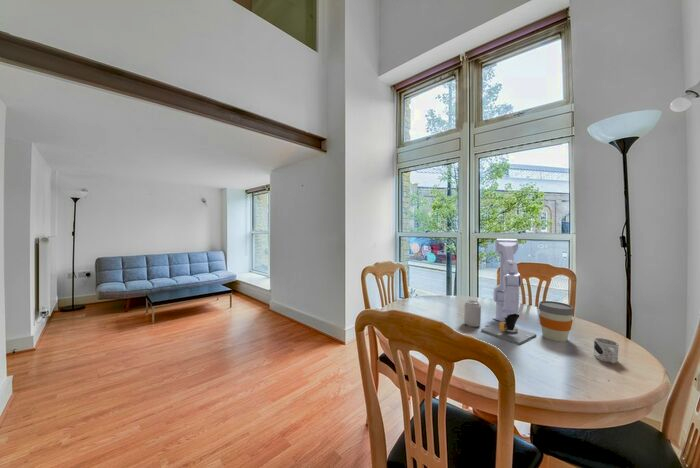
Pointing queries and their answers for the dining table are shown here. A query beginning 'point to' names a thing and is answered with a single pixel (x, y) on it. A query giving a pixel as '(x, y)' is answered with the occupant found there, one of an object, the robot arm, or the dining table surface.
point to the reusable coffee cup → (555, 320)
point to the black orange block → (504, 327)
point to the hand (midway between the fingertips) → (510, 329)
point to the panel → (509, 334)
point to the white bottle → (472, 313)
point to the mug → (606, 350)
